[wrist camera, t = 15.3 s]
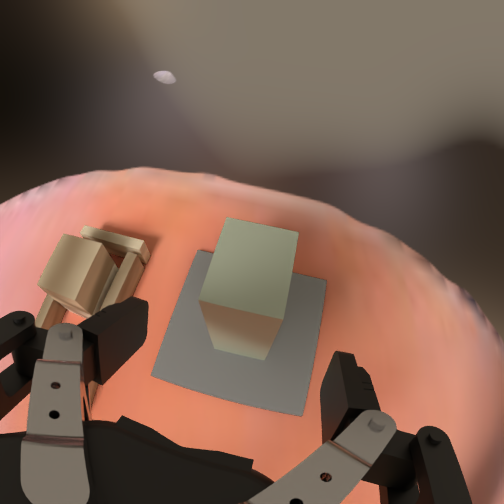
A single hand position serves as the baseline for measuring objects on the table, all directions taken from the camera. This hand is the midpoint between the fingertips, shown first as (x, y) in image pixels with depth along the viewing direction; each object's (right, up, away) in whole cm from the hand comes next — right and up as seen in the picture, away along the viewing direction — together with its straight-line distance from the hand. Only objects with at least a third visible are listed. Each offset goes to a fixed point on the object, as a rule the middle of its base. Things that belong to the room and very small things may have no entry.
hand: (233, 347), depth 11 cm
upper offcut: (-14, +1, +10) cm, 17 cm away
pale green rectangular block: (0, -2, +11) cm, 12 cm away
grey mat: (0, -3, +12) cm, 12 cm away
